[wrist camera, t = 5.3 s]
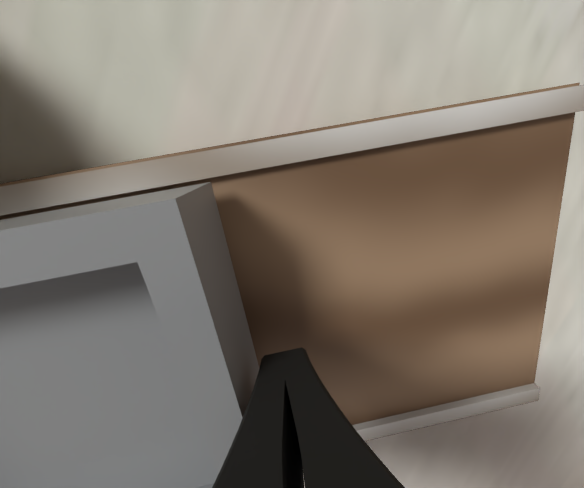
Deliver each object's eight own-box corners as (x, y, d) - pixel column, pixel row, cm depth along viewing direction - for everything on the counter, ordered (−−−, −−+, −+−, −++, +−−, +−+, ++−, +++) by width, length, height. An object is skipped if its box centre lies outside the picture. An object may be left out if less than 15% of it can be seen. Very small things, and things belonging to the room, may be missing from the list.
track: (514, 381, 14) (604, 460, 11) (-8, 501, 13) (-117, 640, 9) (549, 89, 10) (723, 48, 6) (-232, 226, 9) (-612, 279, 5)
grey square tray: (281, 440, 13) (290, 575, 8) (-9, 507, 12) (-148, 687, 8) (214, 179, 9) (174, 198, 5) (-216, 258, 8) (-689, 356, 4)
